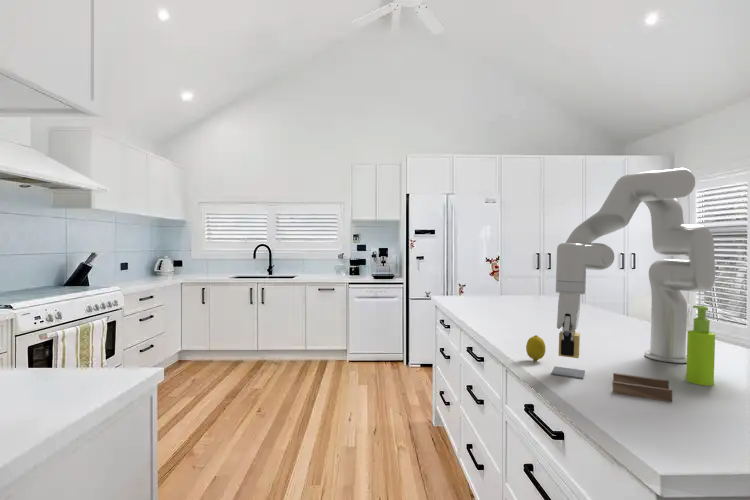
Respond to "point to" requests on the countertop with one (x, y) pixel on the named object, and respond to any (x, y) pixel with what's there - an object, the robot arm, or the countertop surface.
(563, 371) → the slate coaster
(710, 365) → the soap dispenser
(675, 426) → the countertop surface
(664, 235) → the robot arm
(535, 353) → the lemon
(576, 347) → the ochre block
